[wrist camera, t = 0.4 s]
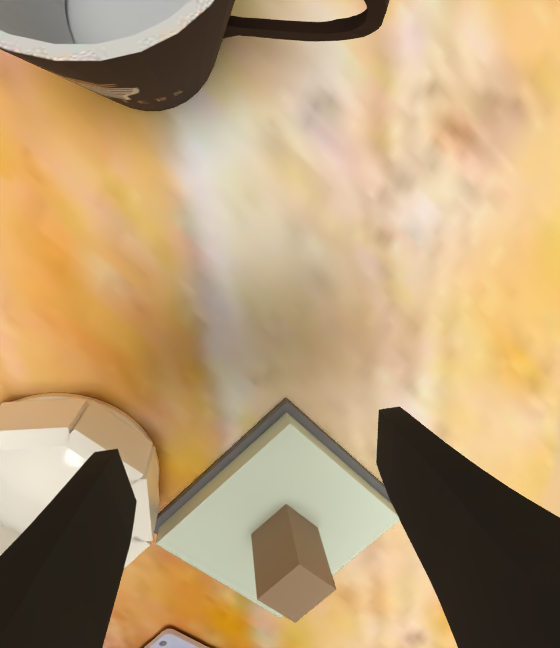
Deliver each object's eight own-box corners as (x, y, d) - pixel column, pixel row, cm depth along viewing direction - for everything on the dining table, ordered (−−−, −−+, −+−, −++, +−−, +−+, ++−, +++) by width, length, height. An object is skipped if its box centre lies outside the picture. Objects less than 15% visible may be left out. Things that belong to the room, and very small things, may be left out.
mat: (276, 601, 27) (277, 607, 27) (148, 523, 23) (147, 528, 23) (399, 499, 26) (402, 503, 26) (285, 397, 22) (287, 401, 22)
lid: (277, 600, 27) (290, 689, 22) (159, 527, 23) (142, 614, 18) (392, 504, 26) (433, 576, 21) (286, 411, 22) (305, 472, 17)
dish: (83, 567, 24) (61, 624, 21) (-79, 483, 20) (-134, 536, 17) (196, 463, 23) (192, 507, 19) (45, 355, 19) (10, 386, 16)
